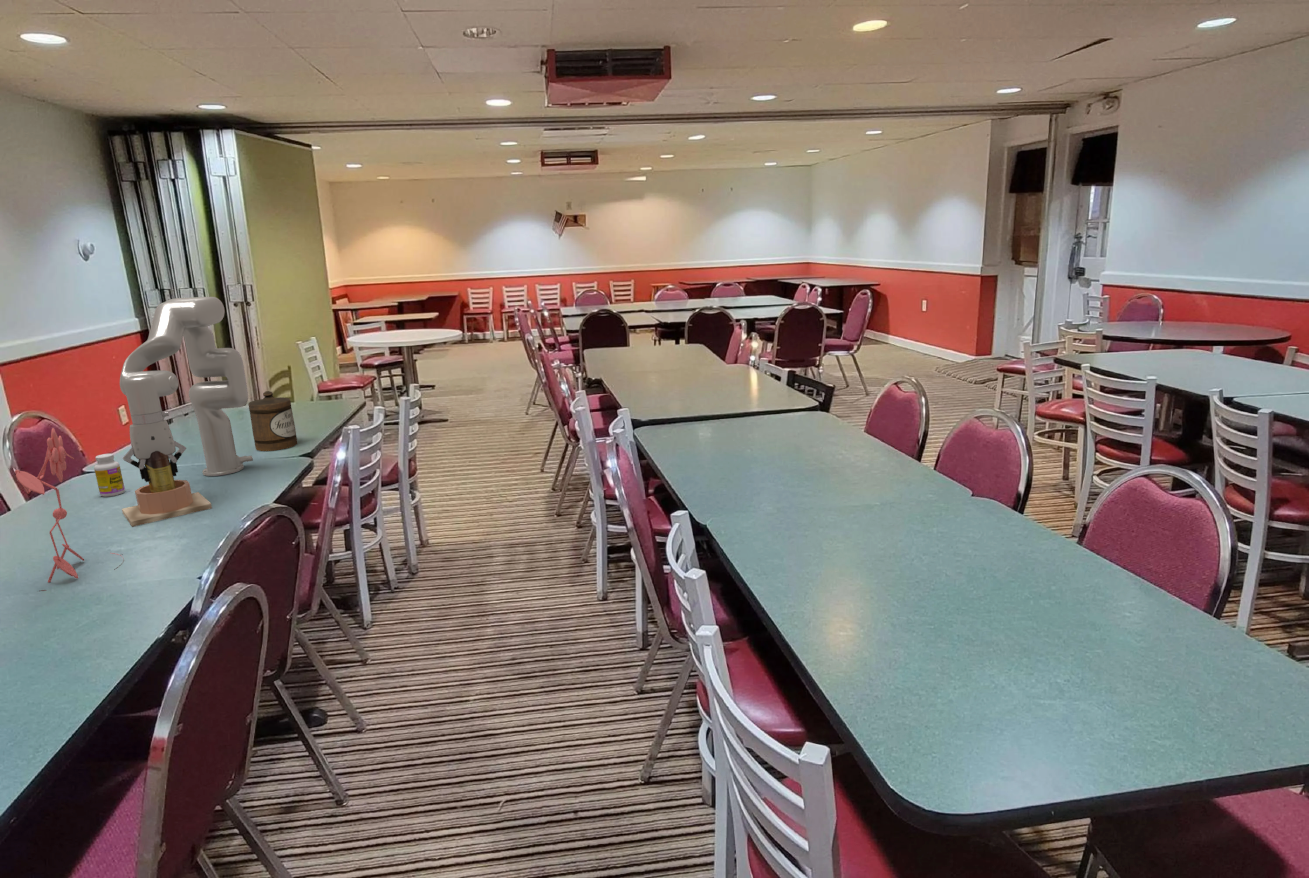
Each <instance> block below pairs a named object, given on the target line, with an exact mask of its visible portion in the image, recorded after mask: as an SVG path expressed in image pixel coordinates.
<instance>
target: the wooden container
mask: <svg viewBox="0 0 1309 878" xmlns="http://www.w3.org/2000/svg"><path fill="white" fill-rule="evenodd" d="M262 395H263V398H261V399H257V400H253V401H250V402H248V411H249V416H250V423H251V429H252V436H253V440H254V447H255V450H256V451H257V452H258V451H259V452H274V451H277V452H278V451H282V450H286V449H290V448H294V447H295V446H296V445H297V446H298V437H297V431H296V424H295V419H294V414H293V409H292V402H291V401H292V400H291V398H290V397H284V396H283V397H274V396H273V391H271V390H268V391H267V390H266V391H264V392H263V394H262Z"/></svg>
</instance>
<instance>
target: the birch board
mask: <svg viewBox="0 0 1309 878" xmlns="http://www.w3.org/2000/svg"><path fill="white" fill-rule="evenodd" d="M191 493H192V498H193V502H192V503H191V504H190V505H189V506H187V507H184V508H181V509H179V510H175V511H170V512H166V513H158V514H142V513H141V512H140V511H139V508H138V504H137V505H134V506H129V507H124V508H121V512H122V514H123V516H124V517H125V519H126V521H128V523H129V524H130V527H132V528H133V527H137V526H142V525H147V524H151V523H155V522H160V521H162V520H163V521H164V520H167V519H173V518H176V517H181V516H185V515H189V514H194V513H198V512H203V511H207V510H211V509H213V507H212V503H211V502H210V501H209V500H208V499H207V498H206V497H205V496H203V495H202V494H201V493H200V492H199V491H198V492H191Z"/></svg>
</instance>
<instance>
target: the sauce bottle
mask: <svg viewBox="0 0 1309 878" xmlns="http://www.w3.org/2000/svg"><path fill="white" fill-rule="evenodd" d="M151 440H155V438H154V436H151ZM144 466H145V468H146V469H147V474H148V478H149V481H148V482H147V483H148V485H149V486H150V490H151V493H157V492H164V491H168V490H173V489H176V486H175V482H174V480H175V478H174V477H175V476H173V473H172V468H171V464H170V459H169V457H168V455H165V454H164V453H161V452H160V451H155V452H152V453H151V455H150V458H148V459H146V461H145V465H144Z"/></svg>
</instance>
